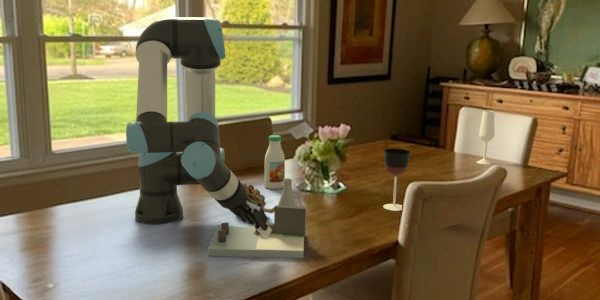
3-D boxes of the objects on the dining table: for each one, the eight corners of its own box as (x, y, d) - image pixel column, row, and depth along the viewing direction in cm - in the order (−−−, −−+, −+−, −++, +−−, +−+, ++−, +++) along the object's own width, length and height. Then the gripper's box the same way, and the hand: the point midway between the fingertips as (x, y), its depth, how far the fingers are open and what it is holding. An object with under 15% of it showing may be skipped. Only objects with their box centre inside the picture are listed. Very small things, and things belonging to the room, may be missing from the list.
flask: (295, 211, 201) (296, 183, 199) (274, 209, 203) (274, 181, 201) (300, 205, 208) (300, 177, 206) (279, 203, 210) (280, 176, 208)
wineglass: (386, 202, 213) (389, 147, 209) (409, 206, 209) (413, 150, 205) (377, 207, 207) (380, 151, 202) (401, 212, 202) (404, 155, 198)
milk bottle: (261, 188, 227) (262, 137, 223) (267, 183, 235) (268, 133, 230) (281, 190, 225) (282, 138, 221) (286, 185, 233) (287, 134, 228)
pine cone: (223, 212, 199) (222, 183, 197) (245, 206, 206) (245, 178, 204) (266, 229, 184) (267, 198, 182) (289, 222, 191) (289, 192, 188)
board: (208, 255, 163) (207, 238, 162) (218, 232, 180) (217, 216, 179) (304, 258, 162) (304, 240, 161) (304, 234, 180) (305, 218, 179)
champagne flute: (475, 163, 274) (480, 111, 269) (477, 160, 280) (481, 109, 275) (490, 165, 271) (495, 112, 266) (492, 161, 277) (497, 110, 272)
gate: (254, 232, 174) (254, 206, 172) (256, 229, 176) (256, 203, 174) (304, 236, 172) (305, 209, 170) (305, 233, 174) (306, 206, 172)
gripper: (199, 196, 150) (243, 239, 167) (238, 206, 142) (280, 250, 159) (214, 171, 153) (255, 216, 170) (253, 180, 145) (292, 226, 162)
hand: (267, 233), depth 164 cm, fingers closed
